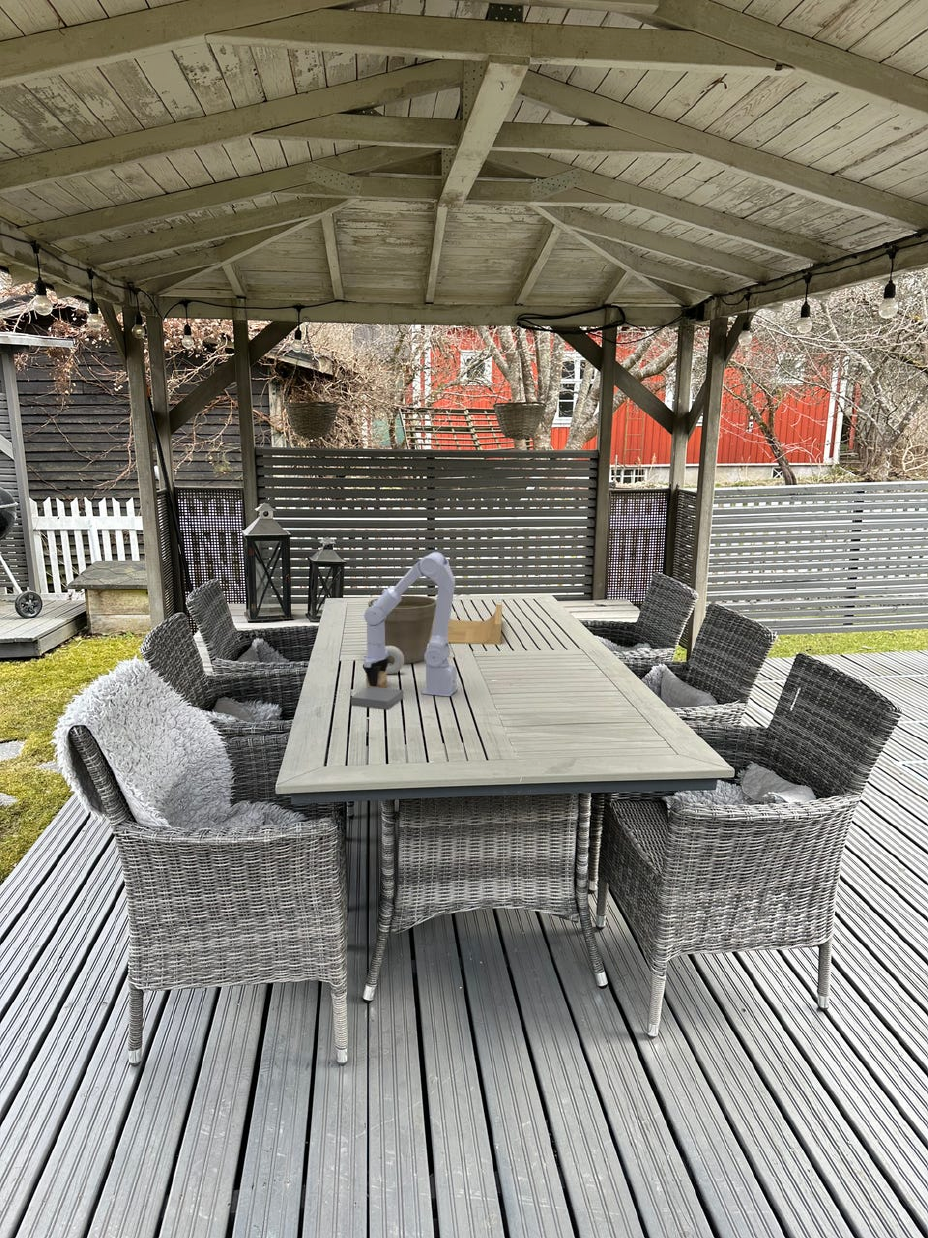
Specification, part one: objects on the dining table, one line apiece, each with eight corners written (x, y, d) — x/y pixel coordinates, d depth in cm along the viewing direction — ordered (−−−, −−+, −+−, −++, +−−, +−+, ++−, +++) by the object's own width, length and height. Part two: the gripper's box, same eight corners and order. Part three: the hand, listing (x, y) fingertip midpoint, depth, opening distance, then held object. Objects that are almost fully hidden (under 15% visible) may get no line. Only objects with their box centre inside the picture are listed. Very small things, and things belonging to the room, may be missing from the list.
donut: (374, 675, 270) (374, 646, 268) (376, 672, 273) (375, 644, 271) (404, 675, 270) (403, 647, 267) (405, 672, 273) (404, 644, 271)
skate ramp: (500, 648, 314) (502, 608, 310) (411, 643, 315) (412, 604, 312) (501, 625, 353) (502, 590, 349) (421, 622, 354) (422, 586, 351)
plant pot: (355, 662, 286) (354, 603, 281) (392, 647, 307) (392, 592, 303) (415, 671, 275) (414, 610, 270) (449, 655, 296) (449, 598, 291)
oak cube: (386, 686, 257) (386, 671, 256) (380, 690, 253) (380, 675, 252) (372, 684, 259) (372, 670, 258) (366, 689, 254) (366, 674, 253)
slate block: (403, 699, 246) (403, 690, 245) (388, 711, 235) (388, 701, 234) (368, 695, 249) (368, 686, 249) (351, 706, 238) (351, 697, 238)
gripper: (373, 636, 261) (374, 676, 263) (354, 646, 247) (355, 688, 250) (393, 638, 259) (393, 678, 261) (375, 648, 245) (376, 690, 248)
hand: (376, 683), depth 256 cm, fingers closed on oak cube, 5 cm apart
